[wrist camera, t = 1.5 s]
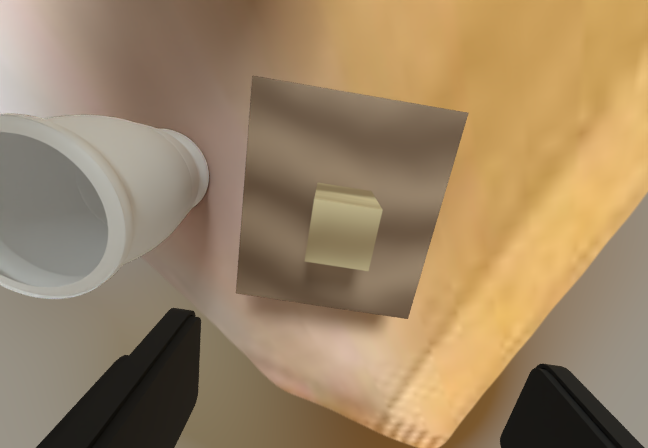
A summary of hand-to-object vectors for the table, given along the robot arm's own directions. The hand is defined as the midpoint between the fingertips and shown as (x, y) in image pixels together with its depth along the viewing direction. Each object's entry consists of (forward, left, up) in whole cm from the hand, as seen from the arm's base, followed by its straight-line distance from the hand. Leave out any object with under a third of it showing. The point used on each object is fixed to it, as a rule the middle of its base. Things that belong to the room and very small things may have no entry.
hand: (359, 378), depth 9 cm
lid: (0, 0, -16) cm, 16 cm away
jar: (+1, -17, -24) cm, 29 cm away
